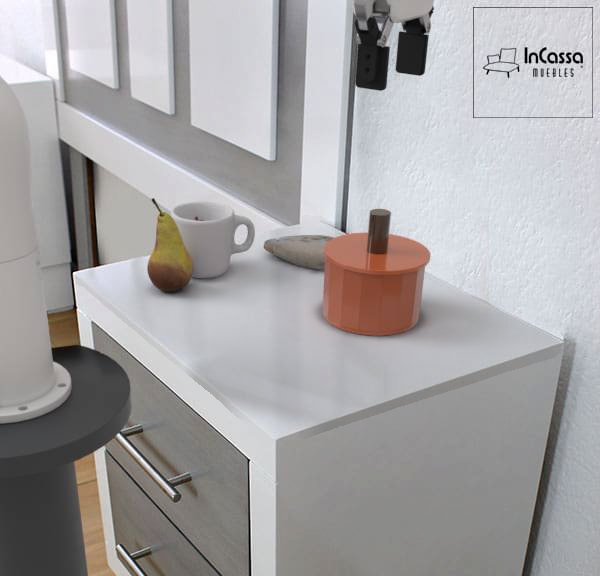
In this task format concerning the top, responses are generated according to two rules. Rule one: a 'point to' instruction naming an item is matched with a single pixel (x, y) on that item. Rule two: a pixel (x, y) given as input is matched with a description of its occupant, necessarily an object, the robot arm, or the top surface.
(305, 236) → the decorative stone
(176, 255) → the fruit
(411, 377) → the top surface
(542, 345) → the top surface
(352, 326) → the pot
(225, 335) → the top surface
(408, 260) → the lid
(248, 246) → the cup
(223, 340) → the top surface
